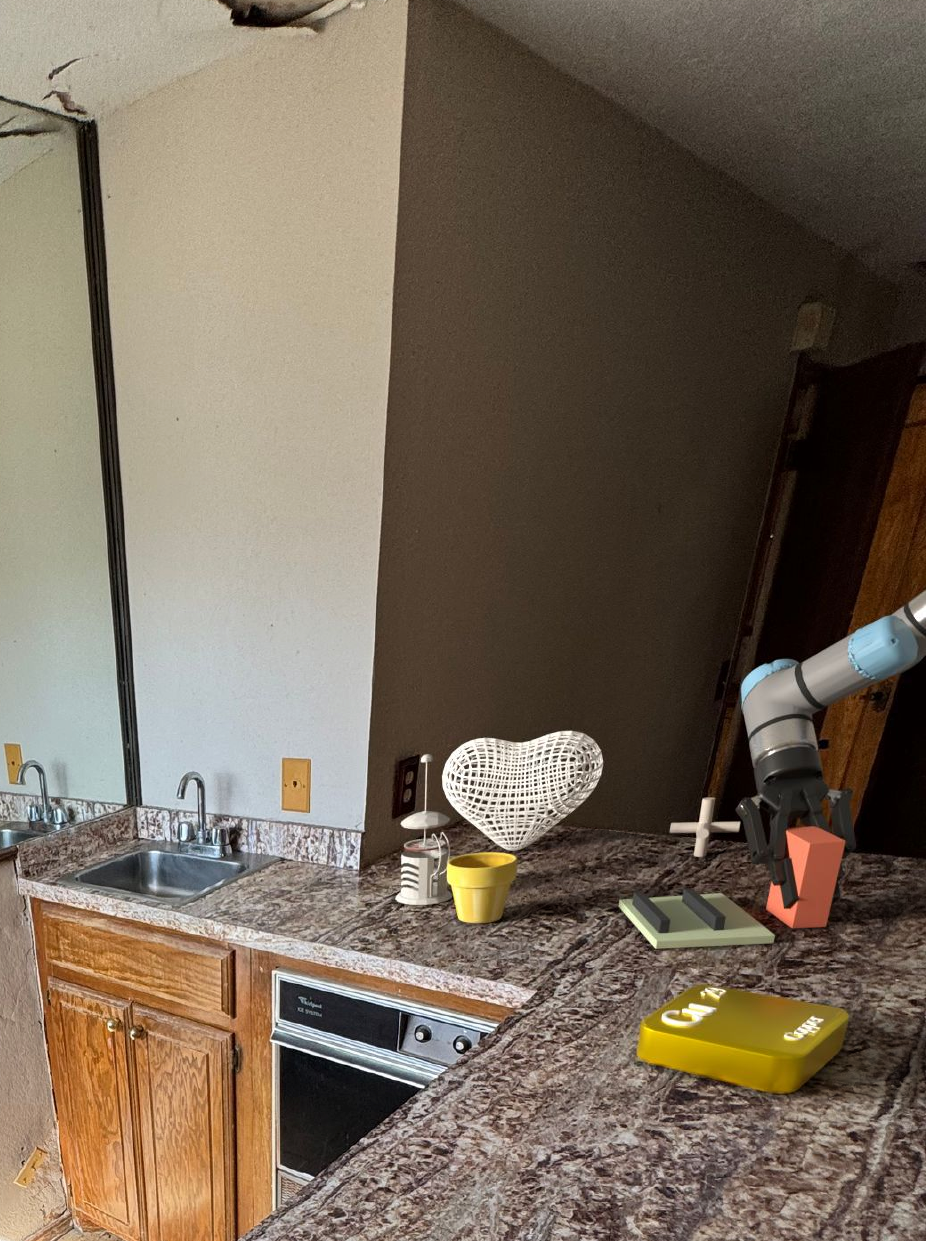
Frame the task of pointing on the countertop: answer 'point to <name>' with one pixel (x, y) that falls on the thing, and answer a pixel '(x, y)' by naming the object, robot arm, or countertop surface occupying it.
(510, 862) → the flower pot
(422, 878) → the french press
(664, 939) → the base pad
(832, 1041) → the element tile
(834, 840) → the salmon orange rectangular block
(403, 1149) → the countertop surface
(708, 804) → the pipe connector
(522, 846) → the heart
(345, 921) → the countertop surface
